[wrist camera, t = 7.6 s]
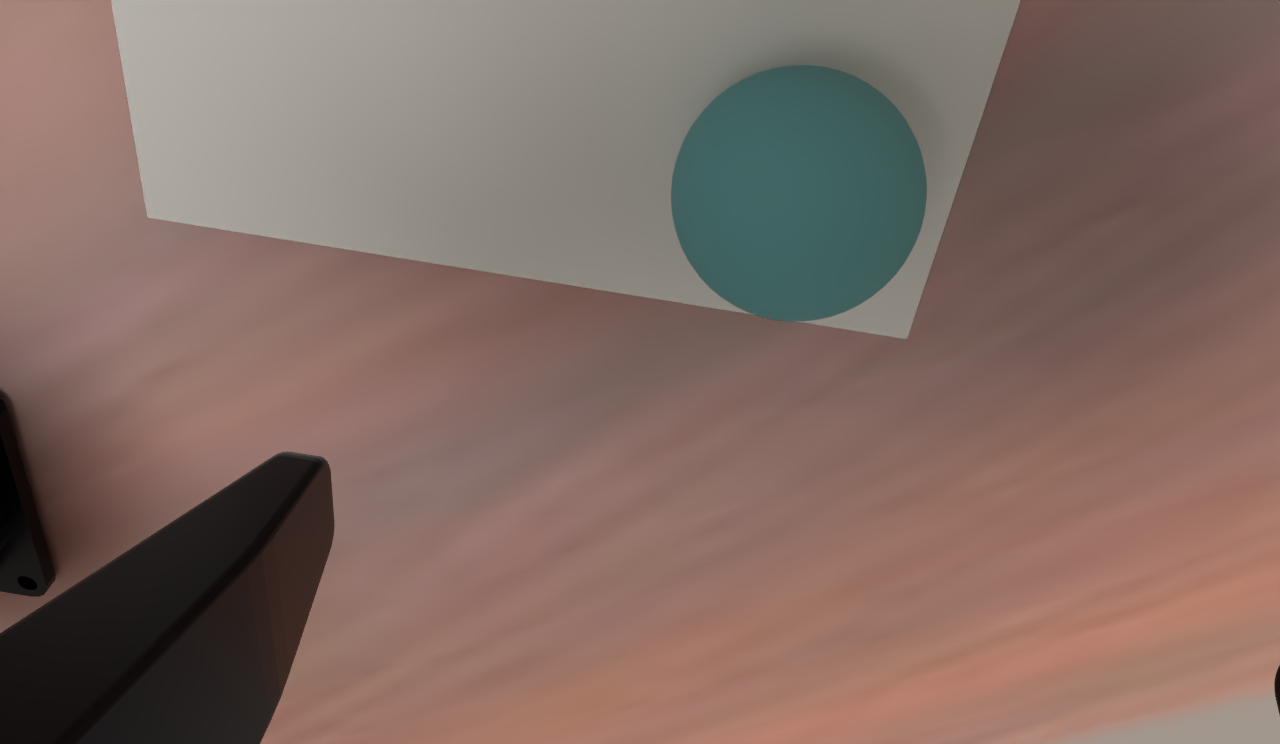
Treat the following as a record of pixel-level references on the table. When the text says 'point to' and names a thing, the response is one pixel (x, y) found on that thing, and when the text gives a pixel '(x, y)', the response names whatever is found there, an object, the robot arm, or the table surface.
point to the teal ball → (798, 193)
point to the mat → (518, 122)
